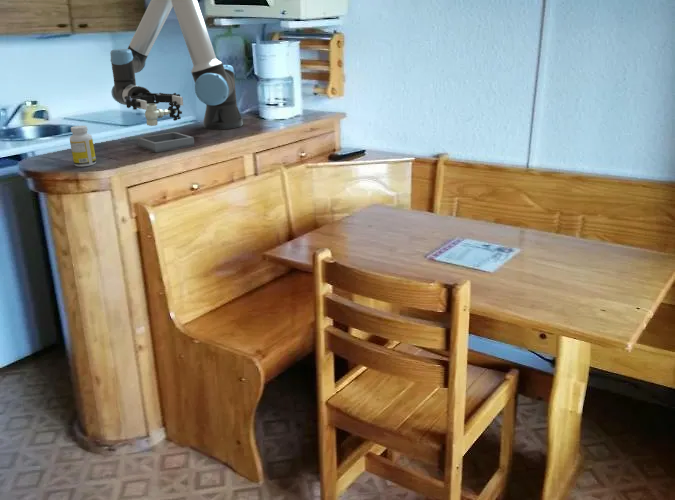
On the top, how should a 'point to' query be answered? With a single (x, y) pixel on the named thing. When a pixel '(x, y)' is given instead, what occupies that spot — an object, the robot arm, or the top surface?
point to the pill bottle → (82, 147)
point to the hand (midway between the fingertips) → (164, 103)
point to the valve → (161, 113)
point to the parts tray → (165, 142)
